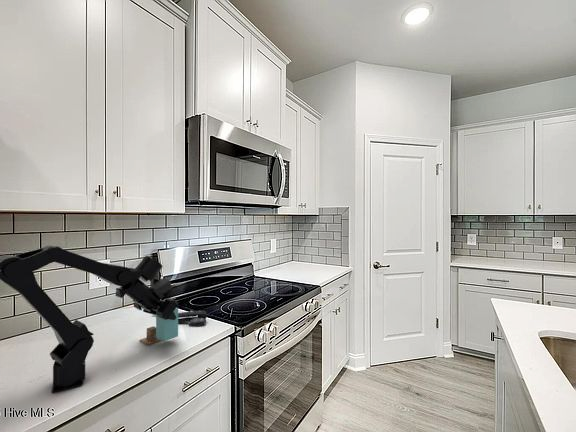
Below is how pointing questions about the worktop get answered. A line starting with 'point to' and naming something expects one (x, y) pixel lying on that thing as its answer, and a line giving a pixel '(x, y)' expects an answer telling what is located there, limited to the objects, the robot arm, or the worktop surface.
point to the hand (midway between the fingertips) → (170, 317)
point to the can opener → (193, 318)
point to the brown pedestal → (150, 337)
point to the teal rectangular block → (167, 327)
